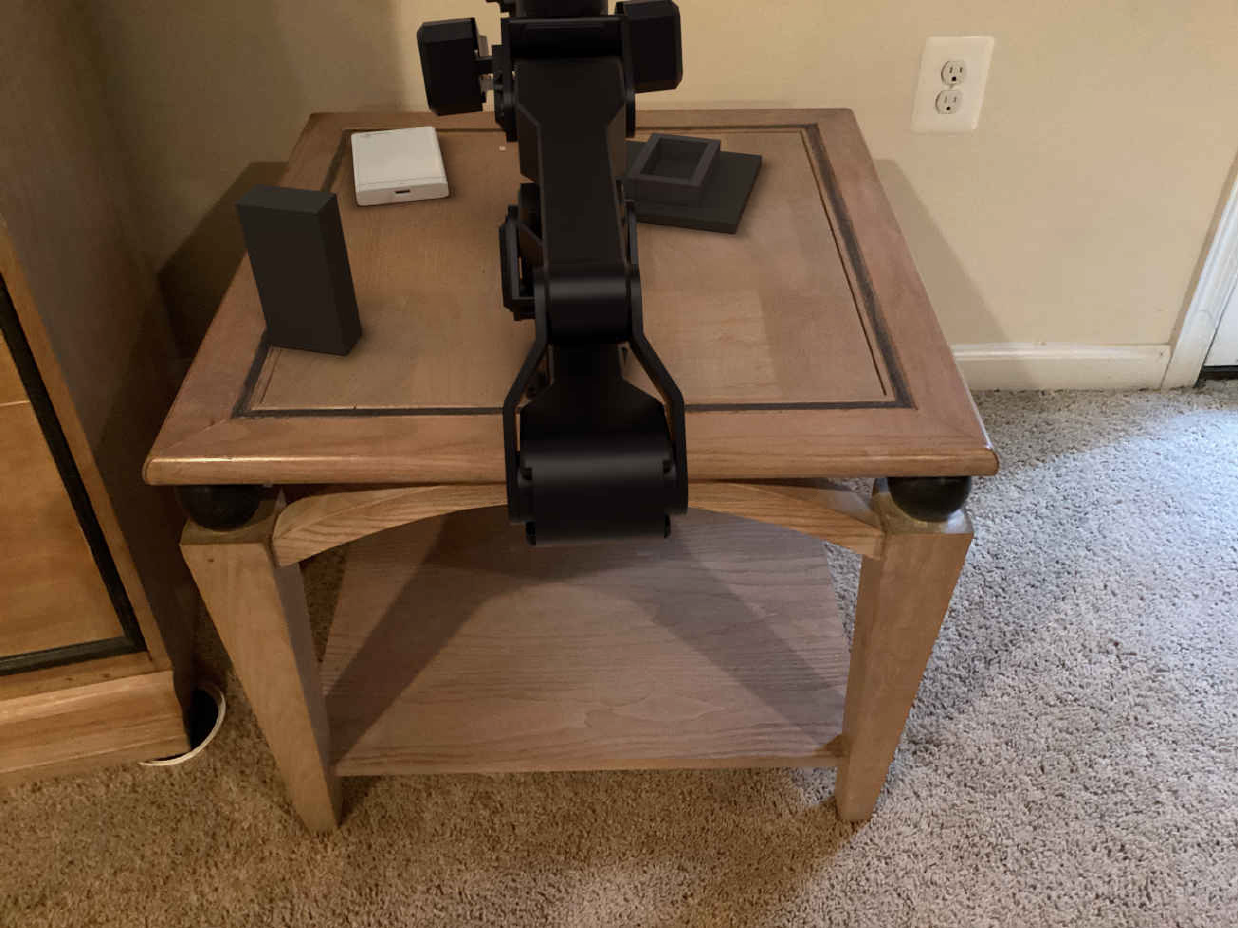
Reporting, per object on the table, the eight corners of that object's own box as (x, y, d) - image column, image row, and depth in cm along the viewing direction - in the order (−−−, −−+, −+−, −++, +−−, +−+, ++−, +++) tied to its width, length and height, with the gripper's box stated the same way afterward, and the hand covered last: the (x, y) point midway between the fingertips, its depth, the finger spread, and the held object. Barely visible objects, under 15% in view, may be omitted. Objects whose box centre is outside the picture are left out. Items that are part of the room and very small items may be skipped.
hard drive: (350, 133, 104) (354, 189, 95) (435, 125, 105) (447, 180, 96) (353, 149, 105) (358, 206, 96) (436, 141, 106) (449, 197, 97)
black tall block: (289, 323, 81) (256, 183, 74) (363, 333, 80) (336, 192, 73) (271, 345, 79) (234, 203, 72) (346, 356, 78) (317, 212, 71)
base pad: (761, 165, 102) (764, 134, 100) (734, 234, 92) (737, 202, 90) (620, 148, 105) (620, 119, 103) (578, 214, 95) (577, 182, 93)
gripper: (693, -73, 68) (652, -89, 81) (397, -42, 66) (405, -64, 79) (700, 108, 73) (661, 64, 87) (428, 139, 72) (431, 90, 85)
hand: (543, 37), depth 84 cm, fingers open, 9 cm apart
